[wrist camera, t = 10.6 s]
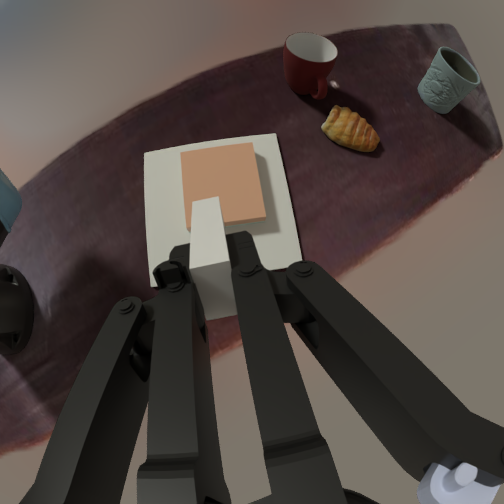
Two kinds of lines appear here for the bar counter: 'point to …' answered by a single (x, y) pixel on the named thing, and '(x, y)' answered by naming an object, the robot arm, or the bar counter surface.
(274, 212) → the mat
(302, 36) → the mug
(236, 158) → the tile
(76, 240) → the bar counter surface
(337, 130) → the pastry
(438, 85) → the green ceramic cup
